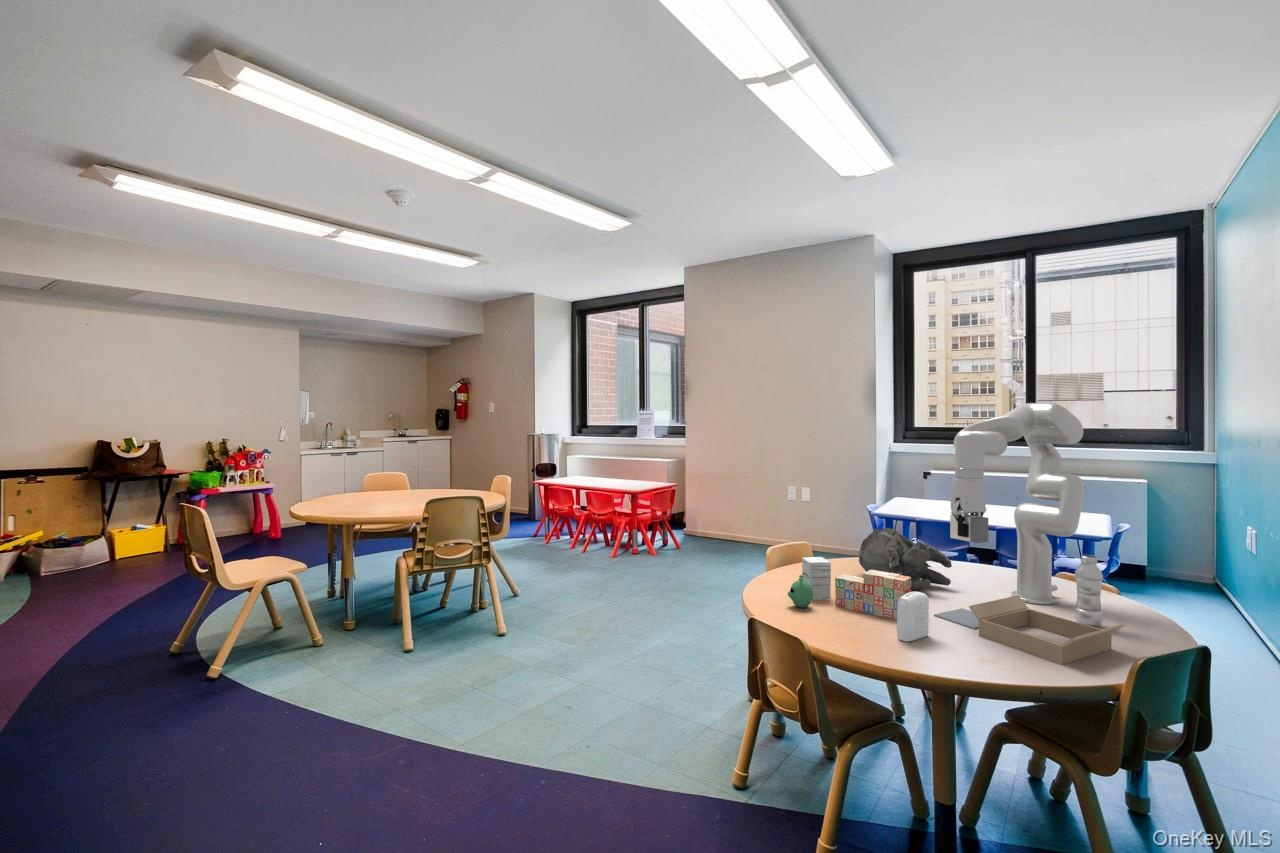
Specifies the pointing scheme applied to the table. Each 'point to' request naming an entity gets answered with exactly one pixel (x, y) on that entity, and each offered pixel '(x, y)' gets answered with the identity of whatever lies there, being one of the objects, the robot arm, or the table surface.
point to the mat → (960, 617)
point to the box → (971, 529)
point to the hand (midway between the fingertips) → (968, 534)
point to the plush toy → (902, 558)
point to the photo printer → (912, 616)
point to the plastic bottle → (1088, 592)
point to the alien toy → (801, 593)
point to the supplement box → (817, 576)
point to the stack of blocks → (872, 592)
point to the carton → (1015, 613)
